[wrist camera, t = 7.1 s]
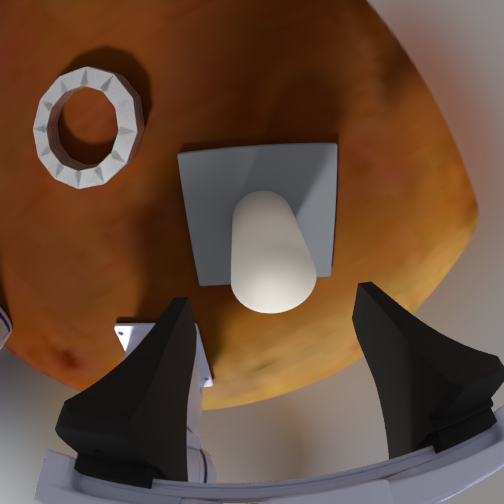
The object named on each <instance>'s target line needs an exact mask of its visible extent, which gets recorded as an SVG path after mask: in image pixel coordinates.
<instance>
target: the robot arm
mask: <svg viewBox="0 0 504 504" xmlns="http://www.w3.org/2000/svg"><path fill="white" fill-rule="evenodd" d="M352 320H353V324H354V328H355V332H356V335H357V339H358V341H359V344H360V346H361V348H362V351H363V353H364V356H365V358H366V360H367V363H368V365H369V368H370V370H371V373H372V375H373V378H374V380H375V384H376V387H377V391H378V395H379V399H380V403H381V407H382V412H383V417H384V422H385V429H386V435H387V443H388V452H389V460H387V461H383V462H380V463H376V464H372V465H368V466H364V467H360V468H356V469H351V470H347V471H342V472H337V473H332V474H326V475H320V476H314V477H307V478H300V479H292V480H282V481H270V482H256V483H216V467H215V464H214V461H213V459H212V457H211V455H210V453H209V452H208V451H207V450H206V449H204V448H201V436H198V435H199V432H200V425H201V411H202V399H203V387H210V386H212V385H213V380H212V377H211V373H210V370H209V366H208V363H207V359H206V355H205V352H204V348H203V344H202V341H201V337H200V333H199V329H198V325H197V324H196V323H195V322H194V318H193V314H192V310H191V306H190V302H189V298H188V297H181V298H174V299H173V300H172V301H171V303H170V304H169V306H168V307H167V308H166V310H165V311H164V313H163V314H162V315H161V317H160V318H159V319H158V321H157V322H156V323H117V324H115V327H114V329H115V331H116V333H117V335H118V337H119V339H120V342H121V344H122V346H123V348H124V350H125V354H124V357H123V360H122V362H121V363H120V364H119V365H118V366H116V367H115V368H114V369H113V370H112V371H110V372H109V373H108V374H107V375H106V376H104V377H103V378H102V379H100V380H99V381H98V382H96V383H95V384H93V385H92V386H90V387H89V388H87V389H86V390H84V391H82V392H81V393H79V394H77V395H75V396H74V397H72V398H70V399H68V400H66V401H65V402H64V405H63V407H62V410H61V413H60V415H59V418H58V422H57V424H56V427H55V430H56V432H57V434H58V436H59V437H60V438H61V439H62V440H63V441H64V442H66V443H67V444H68V445H69V446H70V447H71V448H72V449H74V450H75V451H76V452H77V456H76V459H75V458H73V457H71V456H68V455H65V454H62V453H58V452H55V451H52V450H47V453H46V456H45V459H44V463H43V466H42V470H41V473H40V477H39V481H38V485H37V489H36V493H35V500H36V501H38V502H41V503H42V504H223V503H248V502H249V503H251V502H258V503H252V504H438V503H440V502H442V501H444V500H446V499H448V498H450V497H452V496H454V495H456V494H458V493H460V492H462V491H464V490H465V489H467V488H469V487H471V486H473V485H474V484H476V483H478V482H480V481H481V480H483V479H485V478H486V477H488V476H490V475H491V474H493V473H494V472H496V471H497V470H499V469H501V468H502V467H504V406H502V407H500V408H499V409H497V410H496V411H495V412H494V413H493V412H492V409H491V407H492V406H493V401H492V399H491V397H492V396H493V395H494V394H495V392H496V391H497V390H498V389H499V387H500V386H501V385H502V383H503V382H504V366H503V364H502V363H501V361H500V359H499V358H498V357H497V356H495V355H492V354H488V353H485V352H482V351H478V350H476V349H473V348H470V347H468V346H465V345H463V344H461V343H459V342H457V341H455V340H453V339H450V338H449V337H446V336H445V335H443V334H441V333H439V332H437V331H436V330H434V329H433V328H431V327H429V326H428V325H426V324H425V323H423V322H422V321H420V320H419V319H418V318H416V317H415V316H413V315H412V314H411V313H409V312H408V311H407V310H405V309H404V308H403V307H402V306H400V305H399V304H398V303H397V302H395V301H394V300H393V299H392V298H391V297H389V296H388V295H387V294H386V293H385V292H383V291H382V290H381V289H380V288H379V287H377V286H376V285H375V284H373V283H372V282H365V283H358V288H357V294H356V300H355V305H354V310H353V316H352Z"/></svg>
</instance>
